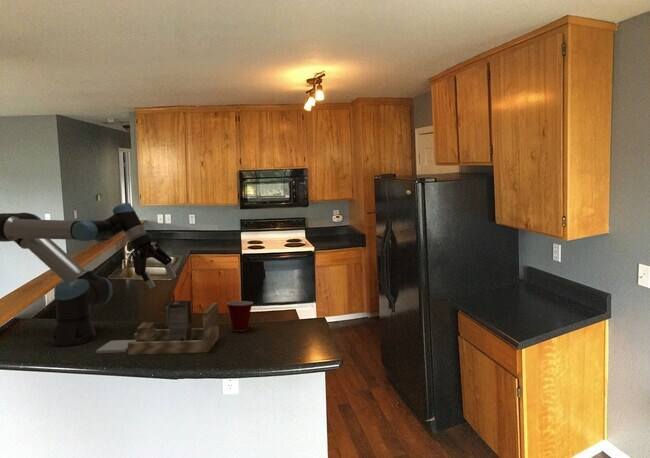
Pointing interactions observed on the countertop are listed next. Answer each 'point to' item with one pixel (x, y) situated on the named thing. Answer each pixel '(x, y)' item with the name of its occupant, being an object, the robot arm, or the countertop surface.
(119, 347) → the mat
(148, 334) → the offcut stack
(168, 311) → the cup
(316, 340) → the countertop surface
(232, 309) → the plastic cup
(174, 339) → the coffee box
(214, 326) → the rack
